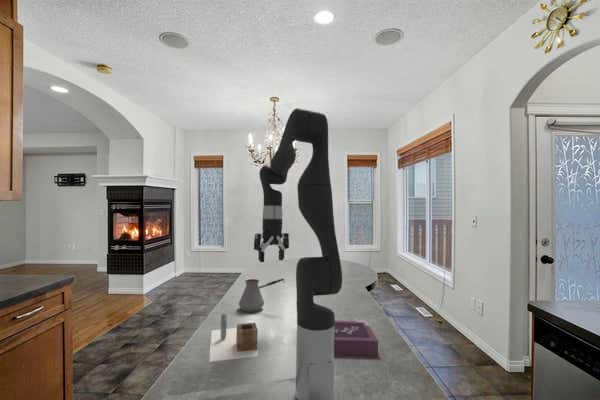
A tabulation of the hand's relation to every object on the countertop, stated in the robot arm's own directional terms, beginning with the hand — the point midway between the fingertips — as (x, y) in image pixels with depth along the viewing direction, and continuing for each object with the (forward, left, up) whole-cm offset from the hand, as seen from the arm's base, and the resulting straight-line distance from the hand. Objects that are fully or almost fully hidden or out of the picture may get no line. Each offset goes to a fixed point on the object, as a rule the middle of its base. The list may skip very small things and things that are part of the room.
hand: (271, 261), depth 106 cm
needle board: (-9, +14, -26) cm, 31 cm away
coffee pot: (+23, 0, -26) cm, 35 cm away
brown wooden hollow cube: (-13, +10, -24) cm, 29 cm away
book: (-14, -20, -27) cm, 36 cm away
